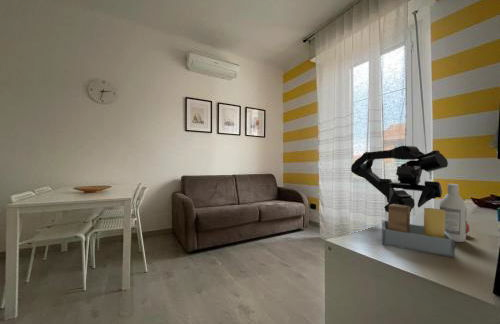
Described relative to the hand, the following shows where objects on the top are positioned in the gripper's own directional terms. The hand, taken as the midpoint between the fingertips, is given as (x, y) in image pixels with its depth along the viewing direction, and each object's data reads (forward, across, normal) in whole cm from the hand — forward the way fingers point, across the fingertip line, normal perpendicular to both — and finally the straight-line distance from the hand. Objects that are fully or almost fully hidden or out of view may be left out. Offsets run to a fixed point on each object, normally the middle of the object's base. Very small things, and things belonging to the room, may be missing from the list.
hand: (402, 204), depth 75 cm
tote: (+11, +4, +7) cm, 13 cm away
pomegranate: (-8, +11, +26) cm, 29 cm away
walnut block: (+12, 0, +4) cm, 13 cm away
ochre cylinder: (+11, +9, +6) cm, 15 cm away
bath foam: (-2, +11, +19) cm, 22 cm away
